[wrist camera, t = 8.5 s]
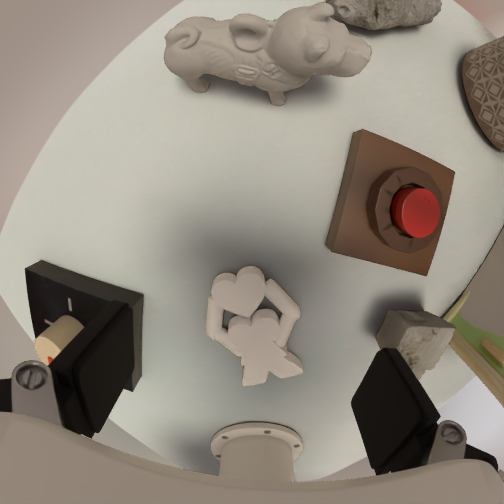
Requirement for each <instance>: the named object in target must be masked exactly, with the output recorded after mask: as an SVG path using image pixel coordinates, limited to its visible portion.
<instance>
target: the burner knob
mask: <svg viewBox="0 0 504 504" xmlns="http://www.w3.org/2000/svg"><path fill="white" fill-rule="evenodd" d="M83 328H84V326H83V325H82V324H81V323H80V322H79V321H78V320H77V319H75V318H74V317H72V316H68V315H64V316H61V317H60V318H59V319H58V320H57V321H55V322H54V323H53V324H52V325H51V326H50V327H48V328H47V329H46V330H45V331H44V332H43V333H41V334H40V335H39V336H38V337H37V338H36V340H35V349H36V352H37V354H38V356H39V358H40V359H41V361H42V362H43V363H44V364H46V365H47V366H48V365H49V364H50V363H51V362H52V360H53V359H54V358H55V357H56V356H57V355H58V354H59V353H60V352H61V351H62V350H63V349H64V348H65V347H66V345H67V344H68V343H69V342H70V341H71V340H72V339H73V338H74V337H75V336H76V335H77V334H78V333H79V332H80V331H81V330H82V329H83Z"/></svg>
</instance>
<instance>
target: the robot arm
mask: <svg viewBox="0 0 504 504" xmlns="http://www.w3.org/2000/svg"><path fill="white" fill-rule="evenodd" d="M134 367H135V355H134V332H133V309H132V308H130V307H129V304H128V303H127V302H123V301H120V300H116V299H113V300H112V301H111V302H110V303H109V304H108V305H107V306H106V307H105V308H104V309H103V310H102V311H100V312H99V313H98V314H97V315H96V316H95V317H94V318H93V319H92V320H91V321H90V322H89V323H88V324H87V325H86V326H85V327H84V328H83V329H82V330H81V331H80V332H79V333H78V334H77V335H76V336H75V337H74V338H73V339H72V340H71V341H70V342H69V343H68V344H67V345H66V347H65V348H64V349H63V350H62V351H61V352H60V353H59V354H58V355H57V356H56V357H55V358H54V359H53V360H52V362H51V363H50V364H49V365H48V366H47V365H46V364H44V363H42V362H39V361H35V360H29V361H24V362H22V363H20V364H19V365H18V366H16V367H15V369H14V370H13V372H12V377H11V378H10V379H1V380H0V504H504V472H503V471H501V470H499V471H498V464H497V460H496V458H495V457H494V456H492V455H490V454H488V453H486V452H484V451H481V450H479V449H477V448H475V447H473V446H470V445H468V444H466V440H467V437H466V433H465V430H464V429H463V428H462V427H461V426H460V425H459V424H458V423H456V422H454V421H451V420H445V421H442V422H441V423H440V424H439V425H438V424H437V421H438V419H439V418H440V414H439V413H438V411H437V409H436V408H435V406H434V404H433V403H432V401H431V400H430V398H429V396H428V395H427V393H426V392H425V390H424V388H423V387H422V385H421V384H420V382H419V381H418V379H417V378H416V376H415V374H414V373H413V371H412V370H411V368H410V367H409V365H408V364H407V362H406V361H405V359H404V358H403V356H402V355H401V354H400V352H399V351H398V349H397V348H386V347H384V348H382V349H381V350H380V351H378V352H377V353H376V355H375V357H374V359H373V361H372V363H371V365H370V367H369V369H368V371H367V373H366V375H365V376H364V378H363V380H362V382H361V384H360V386H359V387H358V389H357V391H356V393H355V394H354V396H353V398H352V401H351V406H352V409H353V412H354V415H355V418H356V421H357V424H358V427H359V430H360V434H361V437H362V440H363V443H364V446H365V449H366V452H367V456H368V459H369V462H370V465H371V468H372V469H374V470H375V473H376V475H377V476H370V477H364V478H356V479H347V480H336V481H318V482H295V481H294V470H293V462H294V461H295V460H296V459H297V458H298V457H299V456H300V455H301V453H302V452H303V443H302V439H301V437H300V436H299V435H298V434H297V433H296V432H294V431H293V430H291V429H289V428H286V427H284V426H280V425H276V424H270V423H243V424H237V425H233V426H229V427H227V428H224V429H222V430H221V431H219V432H217V433H216V434H215V435H214V436H213V438H212V440H211V446H210V448H211V452H212V454H213V455H214V456H215V458H216V459H218V460H219V461H220V467H219V475H218V476H215V475H209V474H204V473H198V472H193V471H189V470H184V469H180V468H175V467H171V466H167V465H163V464H160V463H156V462H153V461H149V460H146V459H143V458H140V457H137V456H134V455H131V454H128V453H124V452H122V451H119V450H116V449H113V448H111V447H108V446H105V445H103V444H101V443H98V442H96V441H93V440H91V439H89V438H92V437H93V435H94V433H95V432H96V433H99V432H100V431H101V429H102V427H103V425H104V423H105V421H106V419H107V418H108V416H109V414H110V412H111V410H112V408H113V407H114V405H115V403H116V401H117V399H118V398H119V396H120V394H121V392H122V390H123V389H124V387H125V385H126V383H127V381H128V380H129V378H130V376H131V374H132V373H133V371H134ZM81 434H83V435H85V436H87V437H89V438H87V437H84V436H82V435H81ZM390 471H391V473H389V472H390ZM387 473H388V474H387ZM382 474H383V475H382Z"/></svg>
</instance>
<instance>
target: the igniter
mask: <svg viewBox="0 0 504 504" xmlns="http://www.w3.org/2000/svg"><path fill="white" fill-rule="evenodd" d="M454 175H455V172H454V171H453V170H451V169H449V168H447V167H445V166H443V165H442V164H440V163H438V162H436V161H434V160H432V159H430V158H428V157H426V156H424V155H422V154H420V153H418V152H416V151H414V150H412V149H409V148H407V147H405V146H403V145H401V144H398V143H396V142H394V141H391V140H389V139H387V138H384V137H382V136H379V135H377V134H374V133H372V132H369V131H367V130H364V129H361V130H359V131H356V132H354V133H353V136H352V141H351V146H350V150H349V155H348V159H347V163H346V168H345V172H344V176H343V180H342V184H341V188H340V192H339V196H338V200H337V204H336V208H335V211H334V215H333V219H332V222H331V226H330V230H329V233H328V237H327V240H326V243H325V245H326V246H327V247H328V249H329V250H330V251H331V252H334V253H338V254H342V255H346V256H350V257H354V258H358V259H362V260H366V261H370V262H374V263H378V264H382V265H385V266H389V267H393V268H397V269H401V270H405V271H409V272H412V273H416V274H420V275H424V276H427V273H428V271H429V268H430V265H431V262H432V259H433V256H434V253H435V250H436V247H437V244H438V241H439V237H440V234H441V230H442V227H443V223H444V219H445V216H446V212H447V208H448V203H449V199H450V195H451V190H452V185H453V180H454ZM406 187H416V188H423V189H427V190H429V191H430V192H431V193H432V194H433V195H434V196H435V197H436V199H437V201H438V204H439V210H440V215H439V221H438V224H437V226H436V228H435V229H434V231H433V232H432V233H431V234H429V235H428V236H426V237H423V238H416V237H413V236H411V235H409V234H406V233H404V232H402V231H400V230H399V229H398V228H397V227H396V225H395V224H394V222H393V219H392V214H391V207H392V202H393V200H394V198H395V196H396V194H397V193H398V192H399V191H400V190H402V189H404V188H406Z"/></svg>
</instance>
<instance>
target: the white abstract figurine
mask: <svg viewBox="0 0 504 504" xmlns="http://www.w3.org/2000/svg"><path fill="white" fill-rule="evenodd" d="M211 294H212V295H211V296H209V298H208V305H207V318H206V333H207V335H209V336H210V338H211V339H212V340H217V341H218V342H220V343H221V344H222V345H223V346H225V347H226V348H227V349H229V350H230V351H231V352H232V353H234V354H235V355H236V356H238V357H241V366H243V365H244V368H243V376H242V384H243V386H252V385H257V384H262V383H265V382H266V380H267V376H268V373H269V371H270V372H272V373H273V374H274V375H276V376H277V377H279V378H281V379H284V378H288V377H292V376H296V375H300V374H302V373H303V368H302V363H301V361H300V359H298V358H297V357H296V356H295V355H293V354H292V353H291V352H288V351H287V347H286V343H287V340H288V338H289V335H290V333H291V330H292V328H293V325H294V323H295V320H298V319H299V318H300V316H301V313H300V309H299V306H298V305H297V304H296V303H295V302H294V301H293V300H292V299H291V298H290V297H289V296H288V295H287V294H286V292H285V291H284V290H283V289H282V288H281V287H280V286H279V285H278V284H277V283H276V282H275V281H274V280H273V279H269V280H268V281H267V282H266V283H265V278H264V275H263V273H262V271H261V270H260V269H259V268H257V267H254V266H248V267H244V268H242V269H240V270H239V271H238V273H237V276H235V275H234V274H231V273H222V274H220V275H218V276H217V277H216V278H215V279H214V281H213V285H212V289H211ZM264 295H265V296H266V297H267V298H268V299H269V300H270V301H271V302H272V303H273V304H274V305H275V306H276V307H277V308H278V309H279V310H280V311H281V312H282V315H281V317H280V320H278V316H277V314H276V313H275V312H274V311H273V310H271V309H260V310H258V311H256V312H255V313H254V314H253V312H254V311H255V310H256V309H257V307H258V306H259V305H260V303H261V302H262V300H263V298H264ZM224 309H225V310H227V311H230V312H232V313H235V314H237V316H235V317H233V318H232V319H230V321H229V327H228V331H227V330H226V329H225V328H223V327H222V321H223V312H224ZM252 314H253V315H252ZM251 315H252V317H250V316H251Z"/></svg>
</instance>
